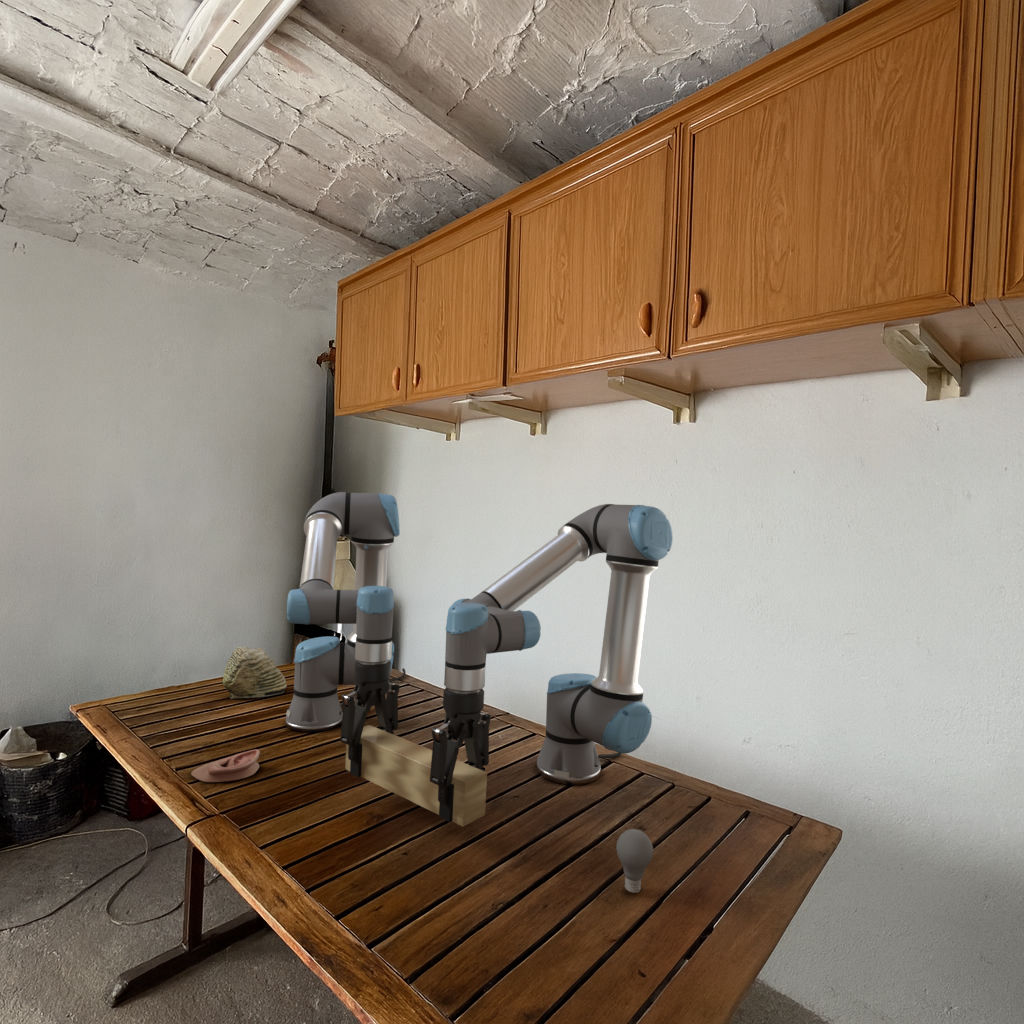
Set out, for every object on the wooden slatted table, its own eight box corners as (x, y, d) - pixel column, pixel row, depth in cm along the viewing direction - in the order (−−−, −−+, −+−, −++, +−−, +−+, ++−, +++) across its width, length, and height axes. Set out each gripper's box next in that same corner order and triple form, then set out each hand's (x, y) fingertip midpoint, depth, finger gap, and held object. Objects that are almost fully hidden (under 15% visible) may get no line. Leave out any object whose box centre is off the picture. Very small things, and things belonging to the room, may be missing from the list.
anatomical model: (182, 760, 139) (216, 741, 150) (181, 778, 139) (216, 758, 150) (236, 768, 136) (267, 748, 147) (235, 786, 136) (266, 765, 147)
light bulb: (610, 879, 108) (613, 822, 108) (644, 879, 109) (647, 822, 109) (619, 902, 102) (622, 840, 102) (655, 901, 103) (658, 840, 103)
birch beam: (344, 769, 134) (346, 731, 133) (367, 761, 138) (369, 724, 138) (463, 827, 112) (465, 782, 112) (485, 815, 117) (487, 772, 117)
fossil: (218, 695, 195) (220, 647, 195) (278, 685, 208) (279, 640, 207) (228, 703, 189) (230, 653, 188) (289, 692, 201) (290, 645, 201)
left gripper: (395, 650, 143) (391, 752, 143) (323, 664, 128) (319, 778, 128) (418, 656, 138) (414, 761, 139) (346, 672, 123) (341, 790, 124)
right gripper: (482, 674, 127) (477, 789, 127) (411, 694, 112) (406, 823, 112) (512, 682, 122) (506, 801, 122) (442, 704, 107) (435, 839, 108)
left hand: (368, 769), depth 133 cm, fingers closed on birch beam, 6 cm apart
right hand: (458, 811), depth 117 cm, fingers closed on birch beam, 6 cm apart
